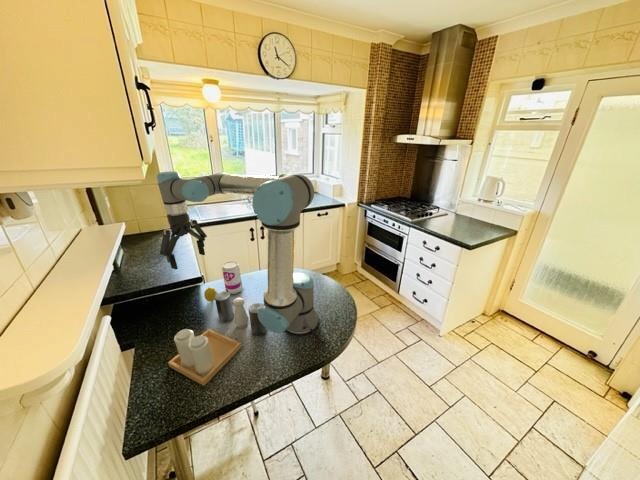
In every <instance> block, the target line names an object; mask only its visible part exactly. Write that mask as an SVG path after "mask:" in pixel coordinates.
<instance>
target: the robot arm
mask: <svg viewBox="0 0 640 480" xmlns="http://www.w3.org/2000/svg"><path fill="white" fill-rule="evenodd" d="M156 180H157V186H158V188H159V192H160V196H161V200H162V202H163V206H164V211H165V213H166V218H167V223H168V225H169V228H168V229H166V228H164V229H162V239H161V244H160V249H159V255H160V256H163V257H166V261H167V263H169V264H170V268H171V269H173V270H178V268H179V267H178V264H177V260H176V257H175V254H174V253H173V252H174V250H175V248H176V245H177V242H178V240H179V239H180V238H181V237H184V236H186V235H188V234H189V235H191V236H192V237H194V239H196V246H197V250H198V254H199V255H201V256H205V255H206V252H205V241H206V238H207V237H208V235H207V234H206V233H205V231H204V230H203V229H202V228H201V226H200V225H199V223H198V220H197V219H193V218H191V219H190V214H189V212H188V211H189V210H188V205H187V202H192V203H202V202H204V201H206V199H208V197H212V196H214V195H215V196H216V195H219V194H221V195H232V196H233V195H234V196H242V197H243V196H244V197H252V209H253V213H254V214H255V215H256V218H257V220H259V221H260V222H261V226H262V227H263V228H264V229H266V261H267V265H266V267H267V289H265V291H264V293H263V304H262V305H263V306H262V307H260V309H259V310H258V318H259V320H260V322H261V323H262V324H263V325H264V327H266V330H268V331H270V332H272V333H276V334H281V333H284V332H285V331H286V332H287V333H289V334H291V335H294V336H304V335H308V334H310V333H312V334H313V335H314V336H315V337H316V339H318V340H319V342H320V343H321V344H324V343H325V341H324V340H323V339H322V338H321V337H320V336H319V335H318V334H317V333H316V331H315V329H317V327H318V324H319V317H318V316H319V315H318V314H317V312H316V309H315V306H314V303H315V302H314V298H315V297H314V293H315V292H314V287H315V285H314V279H313V278H312V276H311V275H309V274H307V273H303V272H294V266H295V265H294V263H295V233H296V229H298V228H299V227H300V225H301V212H302V211H303V210H305V209H307V208H308V207H309V206H310V205H311V204H312V202H313V200H314V197H315V187H314V185H313V183H312V181H311V180H310V179H309V178H308V177H307V176H306V175H304V174H301V173H281V174H280V175H278V176H270V175H266V176H265V175H247V174H246V175H245V174H229V173H227V172H217V173H214V174H209V175H203V176H198V177H193V178H188V179H187V178H182V177H181V175H180V173H179V172H178V171H173V170H171V171H161V172H158V173H157V174H156ZM186 201H187V202H186ZM191 227H193V229H192V228H191ZM194 230H195V231H196V232H195V231H194Z"/></svg>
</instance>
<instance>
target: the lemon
mask: <svg viewBox="0 0 640 480" xmlns="http://www.w3.org/2000/svg"><path fill="white" fill-rule="evenodd" d="M217 294H218V292H217V290H216V288H214V287H211V286H210V287H207V288H206V289H205V290H204V293H203V295H204V299H205V300H206V301H207V302H210V303H212V302H215V296H216V295H217Z"/></svg>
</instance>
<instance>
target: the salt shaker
mask: <svg viewBox="0 0 640 480" xmlns="http://www.w3.org/2000/svg"><path fill="white" fill-rule="evenodd" d="M232 301H233V303H232V304H233V306H234V324H235V325H236V327H238V328H239V329H241V328H245V327H246V326H248V324H249V315H248V313H247V311H246V309H245V306H244V305H245V300H244V298H242V297H237V298H235V299H234V300H232Z"/></svg>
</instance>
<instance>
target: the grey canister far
mask: <svg viewBox="0 0 640 480" xmlns="http://www.w3.org/2000/svg"><path fill="white" fill-rule="evenodd" d="M214 302H215V306H216V310H217V311H216V312H217V316H218V321H219V322H222V323H224V324H227V323H229V322H232V321H233V320H234V312H233V311H234V310H233V306H232V300H231V294H230V293H228V292H226V291H222V292H217V295H216V296H215V300H214Z"/></svg>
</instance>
